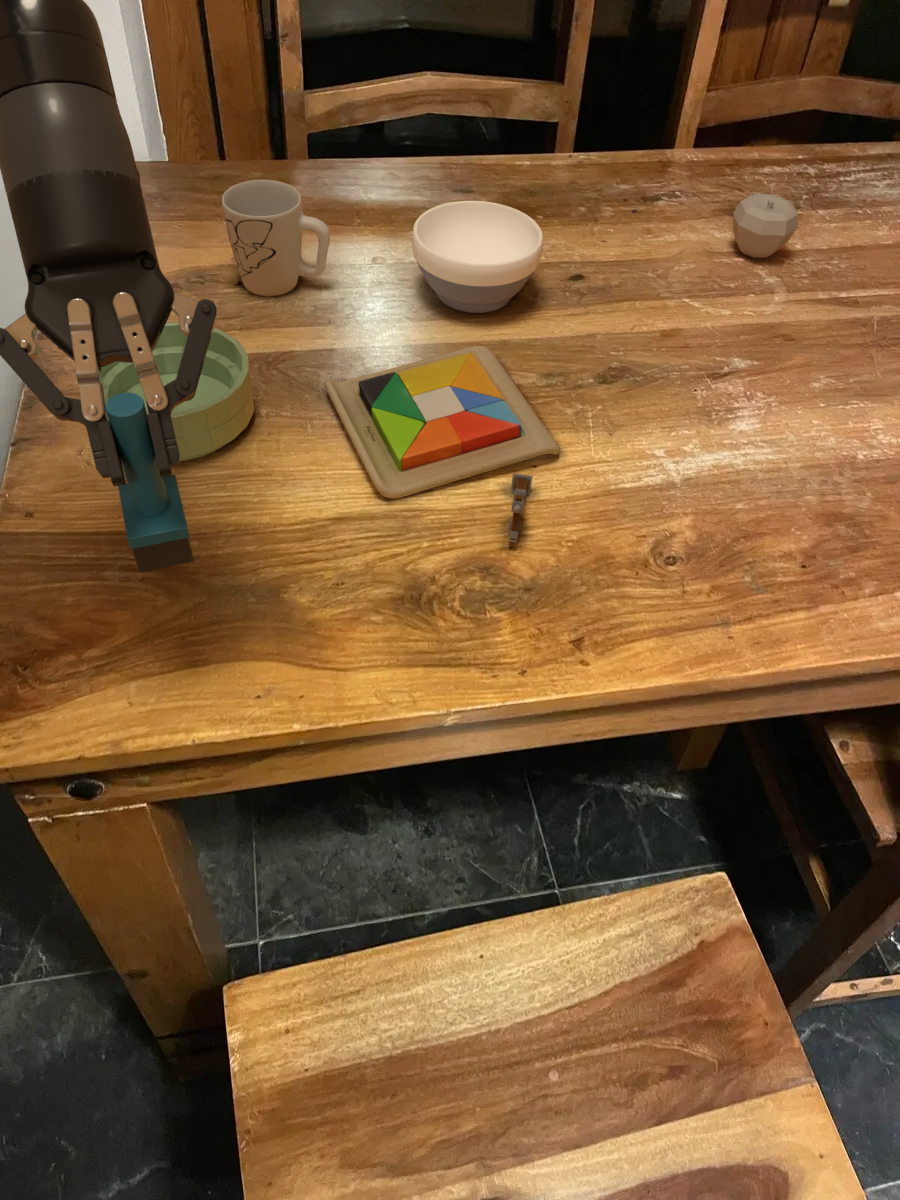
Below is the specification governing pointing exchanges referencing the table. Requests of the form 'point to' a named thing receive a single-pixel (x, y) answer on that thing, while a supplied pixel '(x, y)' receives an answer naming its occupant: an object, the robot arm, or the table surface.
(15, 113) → the robot arm
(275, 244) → the mug
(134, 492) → the teal peg on base
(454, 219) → the bowl
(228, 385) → the wash bowl
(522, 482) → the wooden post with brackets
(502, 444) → the wooden puzzle
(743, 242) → the apple
